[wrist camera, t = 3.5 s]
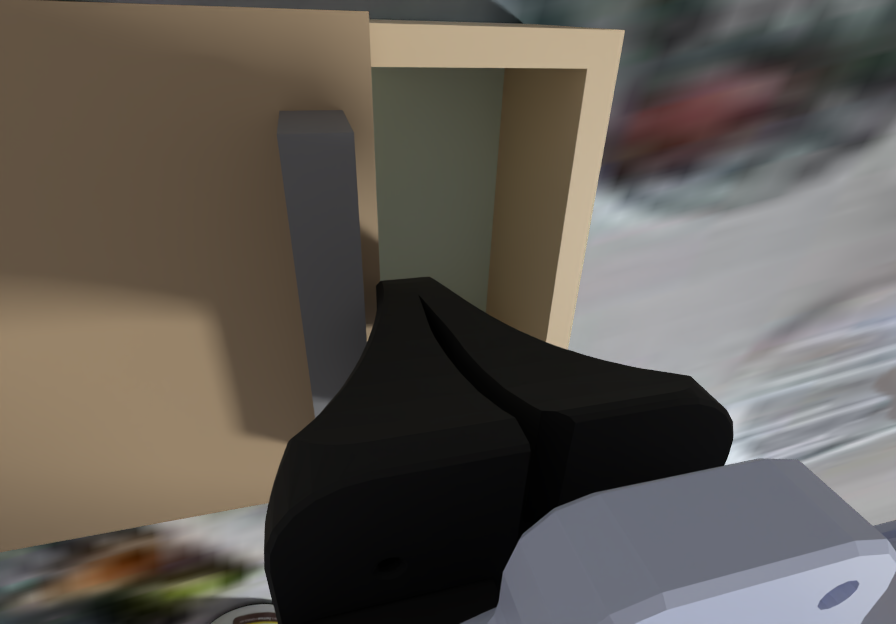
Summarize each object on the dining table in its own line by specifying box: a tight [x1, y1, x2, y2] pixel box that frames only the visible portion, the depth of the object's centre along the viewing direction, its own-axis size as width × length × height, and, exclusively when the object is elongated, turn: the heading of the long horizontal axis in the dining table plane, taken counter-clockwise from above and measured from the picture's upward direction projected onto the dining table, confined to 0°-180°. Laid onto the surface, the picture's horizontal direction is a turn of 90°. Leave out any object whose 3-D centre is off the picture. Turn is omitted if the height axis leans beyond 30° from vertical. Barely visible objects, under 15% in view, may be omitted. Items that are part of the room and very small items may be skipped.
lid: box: [0, 0, 380, 552], centre depth 10 cm, size 12×14×3 cm
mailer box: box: [369, 19, 625, 350], centre depth 15 cm, size 12×14×6 cm
